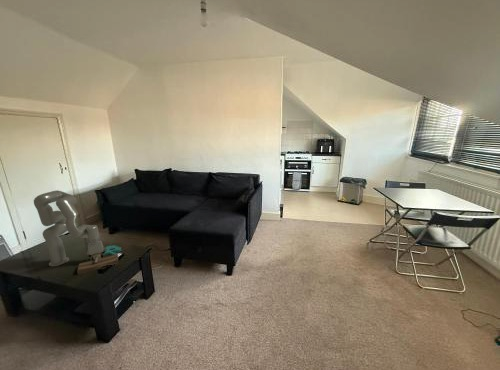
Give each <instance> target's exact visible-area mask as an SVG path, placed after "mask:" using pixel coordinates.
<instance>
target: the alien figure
mask: <svg viewBox="0 0 500 370" xmlns="http://www.w3.org/2000/svg"><path fill="white" fill-rule="evenodd" d="M105 248H106V249H107V251H106V252H105V253H104V254H103V256H106V255H109V256H111V255H115V254H118V253H119V252H121V251H122V247H120V246H118V245H115V244H114V245H108V246H105ZM117 252H118V253H117ZM118 255H119V254H118ZM91 260H92V258H91V257H90V258H89V261H91Z"/></svg>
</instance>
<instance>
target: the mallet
mask: <svg viewBox="0 0 500 370" xmlns="http://www.w3.org/2000/svg"><path fill="white" fill-rule="evenodd" d="M99 258H101V254H100V253H98V254H93V259H94V260H95V263H96V264H97V260H98V259H99Z"/></svg>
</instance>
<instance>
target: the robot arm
mask: <svg viewBox="0 0 500 370" xmlns="http://www.w3.org/2000/svg"><path fill="white" fill-rule="evenodd" d="M52 203H55V205H56V207H57V208H58V210H54V209H53V207H52V206H51V205H50V204H52ZM77 203H78V199H77V197H75V195H73V194H70V193H67V192H64V191H62V190H58V189H57V190H51V191H48V192H44V193H41V194H39V195H37V196H36V197H34V199H33V205H34V207H35V209H36V211H37V214H38V216H39V217H38V218H39V220H40V222H41V224H42V226H45V227H47V228H45V229H44V230H43V232H42V238H43V239H44V241H45V243H46V247H47V250H48V254H49V255H48V256H49V259H50V261H49V263H48V265H49V266H50V267H58V266H61V265H63V264H66V263H68V261H70V257H68V256H67V255H66V250H65V246H64V241H63V240H62V238H61V237H60V236H61V235H63V234H65V233H67V232H68V234H69V235H70V236H71V237H72V238H74V239H79V238H81V237H83V236H85V235H87V239H86V240H85V242H87V252H86V253H85V256H87V257H90V258H92V260H94V259H93V254H98V253H100V254H101V258H103V257H104V255H103V254H104V253H105V252H106V251H107V249H106V247H105V246H104V243H103V241H102V239H100V238H101V237H100V233H99V228H98V225H96V224H82V225H80V226H78V227H77V225H76V219H77V217H78V215H79V211H78V210H77V208H76V207H75V205H76V204H77Z"/></svg>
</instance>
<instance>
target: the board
mask: <svg viewBox="0 0 500 370" xmlns="http://www.w3.org/2000/svg"><path fill="white" fill-rule="evenodd" d="M117 263H118V264H119V254H115V255H108V256H103V258H99V259H98V260H97V264H96V263H95V260H91V261H90V260H87V261H83V262H79V264H78V266H77V271H76V272H77V275H81V274H85V273H89V272H92V271H96V270H100V269H99V268H101V267H103V266H106V265H112V266H115V265H118V264H117ZM114 264H115V265H114ZM101 269H102V268H101Z"/></svg>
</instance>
